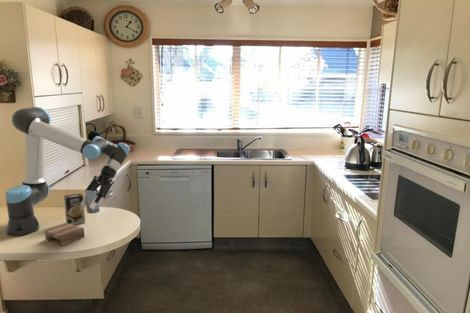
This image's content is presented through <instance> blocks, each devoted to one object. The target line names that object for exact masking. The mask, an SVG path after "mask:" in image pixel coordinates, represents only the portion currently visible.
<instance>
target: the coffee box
mask: <svg viewBox="0 0 470 313" xmlns="http://www.w3.org/2000/svg"><path fill="white" fill-rule="evenodd" d="M83 199H84V195H83V194H82V193H81V192H79V193H72V194H67V195H65V194H64V195H63V201H64V211H65V219H66V220H65V223H69V224H72V225H75V226H77V225H80V224H86V218H85V216H86V215H85V207H84V206H82V205H81V203H82V201H83Z"/></svg>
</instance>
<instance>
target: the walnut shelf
mask: <svg viewBox="0 0 470 313" xmlns="http://www.w3.org/2000/svg"><path fill="white" fill-rule="evenodd" d="M44 233H45V234H44V236H45V241H47V240H48V241H47V242H49V240H50V241H52V240H54V238H55V239H57V240H59V244H60V246H61V247H65V246H68V245H70V244H72V243H75V242H77V241H79V240H82V239H84V238H85V228H84V227H81V226H78V225H72V224H69V223H66V222H65V223H62V224H60V225H57V226H55V227H51V228H48V229H45V230H44Z"/></svg>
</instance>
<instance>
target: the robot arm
mask: <svg viewBox="0 0 470 313" xmlns="http://www.w3.org/2000/svg"><path fill="white" fill-rule="evenodd" d="M51 120H52V119H51V115H50V113H49V112H48V111H47V110H46V109H45V108H43V107H39V106H32V107H28V108H27V107H26V108H20V109H17V110H16V111H15V112H14V113H13V114H12V117H11V123H12V126H13V127H14V128H15V129H16V130H17V131H19V132H22V134H24V135H25V140H24V141H25V148H24V149H25V150H24V151H25V153H24V154H25V160H24V161H25V165H24V166H25V177H24V178H23V179H22V181H21V182H22V185H21V184H20V185H16V186H13V187H9V189H7V190H6V192H5V201H6V203H5V204H6V209H7V216H8V221H7V226H6V234H7V235H8V234H10V235H21V236H25V235H24V234H26V235H29V233H30V234H33V233H35V232H36V231H38V230H40V222H39V221H38V219H37V217H36V216H35V211H34V207H35V205H37V204H38V203H41V202H43V201H44V200H45V199H46V198H48V196H49V194H50V192H51V191H50V190H51V189H50V185H49V184H48V183H47V179H46V178H45V177H44V140H47V141H48V142H50V143H51V142H52V143H54V144H57V145H60V146H62V147H64V148H66V149H70V150H72V151H75V152H77V153H79V154H82V156H83V157H84V158H85V159H88V160H94V159H95V160H96V159H97V158H98V157H100V156H102V155H105V156H107V157H108V158H107V161H106V162H105V163H104V166H103V167H102V169H101V170H100V174H99V175H98V176H97V175H94V177H93V178H92V180H91V181H90V183H89V185H88V186H87V187H86V189H85V190H84V192H85V191H87V190H90V189H97V190H98V194H97V196H95V198H94V199H93V201H92V202H91V204H90V206H89V207H90V208H92V209H94V208H95V206H96V204H97V203H98V202H99V203H100V201H101V199H102V198H104V199H105V198H106V196H107V194H108V193H109V191H110V190H111V188H112V186H113V184H115V181H114V179H115V177H116V175H117V172H119V170H120V168H121V167H122V165H123V164H124V161H125V160H126V159H127V157H128V155H129V154H130V152H131V147H130V146H129V145H128V144H126V143H124V142H118V143H117V144H116V143H113V142H112V141H109V140H107V139H105V138H104V137H101V136H98V135H96V136H95V137H94V138H93V139H92V140H89V139H86V138H83V137H81V136H80V135H76V134H74V133H71V132H69V131H66V130H63V129H62V128H59V127H56V126H53V125H51ZM81 205H82V206H84V208H86V207H87V204H86V195H84V196H83V201H82V203H81ZM32 232H33V233H32ZM10 235H9V236H10Z"/></svg>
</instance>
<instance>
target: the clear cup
mask: <svg viewBox="0 0 470 313" xmlns="http://www.w3.org/2000/svg"><path fill="white" fill-rule="evenodd" d="M84 192H85V196H86V212H87V213H88V214H96V213H100V211H101V210H100V201H99V202H98V203H97V204H96V206H95V208H94V209H92V208H90V207H89V206H90V204H91V202H92V201H93V199H94V198H95V196H97V194H98V193H99V189H98V188H97V189H90V190H87V191H85V190H84Z"/></svg>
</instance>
